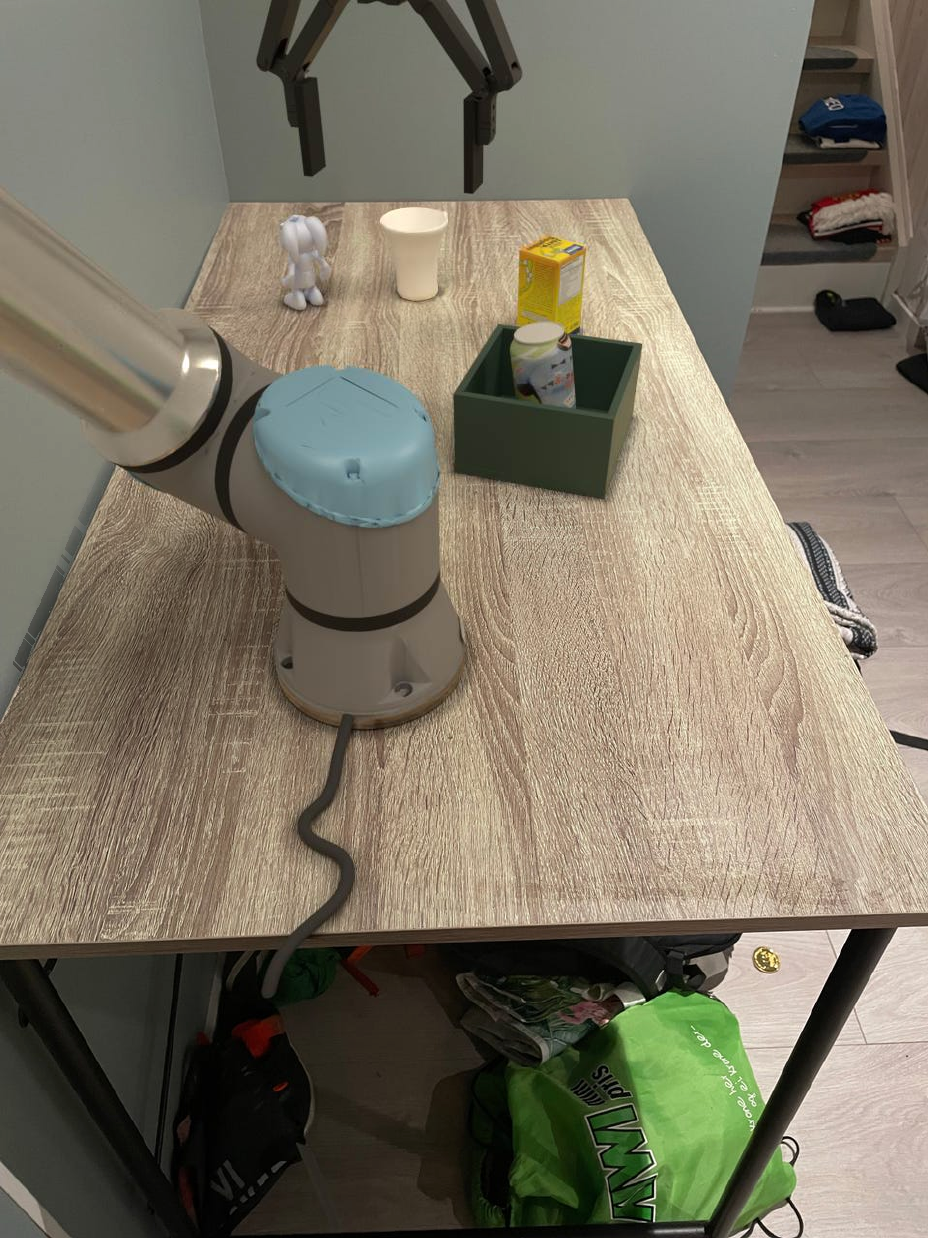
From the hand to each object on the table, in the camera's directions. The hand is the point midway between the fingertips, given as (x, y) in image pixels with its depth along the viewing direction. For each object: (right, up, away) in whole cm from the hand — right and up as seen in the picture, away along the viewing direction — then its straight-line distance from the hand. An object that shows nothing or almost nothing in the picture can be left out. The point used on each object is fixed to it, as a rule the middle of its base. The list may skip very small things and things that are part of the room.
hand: (392, 179), depth 73 cm
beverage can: (+14, -16, +23) cm, 32 cm away
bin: (+14, -17, +24) cm, 33 cm away
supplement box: (+16, +1, +43) cm, 46 cm away
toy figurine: (-15, +7, +49) cm, 52 cm away
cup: (-1, +9, +52) cm, 53 cm away
